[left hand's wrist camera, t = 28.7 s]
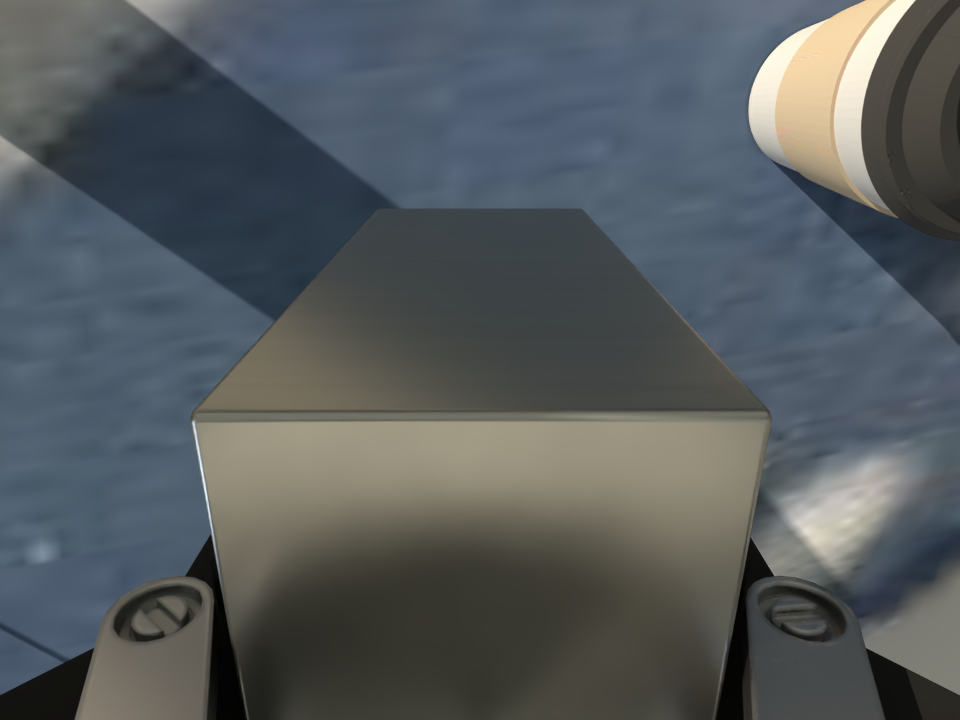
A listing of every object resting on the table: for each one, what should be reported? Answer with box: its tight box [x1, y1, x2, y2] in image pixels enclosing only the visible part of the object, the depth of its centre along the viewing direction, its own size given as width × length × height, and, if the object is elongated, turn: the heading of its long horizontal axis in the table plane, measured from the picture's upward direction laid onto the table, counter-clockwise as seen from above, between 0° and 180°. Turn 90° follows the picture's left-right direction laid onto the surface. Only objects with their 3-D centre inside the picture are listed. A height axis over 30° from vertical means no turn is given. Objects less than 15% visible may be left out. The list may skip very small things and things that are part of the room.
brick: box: [190, 209, 772, 720], centre depth 13 cm, size 5×8×12 cm, turn 0°
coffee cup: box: [749, 0, 960, 241], centre depth 25 cm, size 9×9×15 cm
